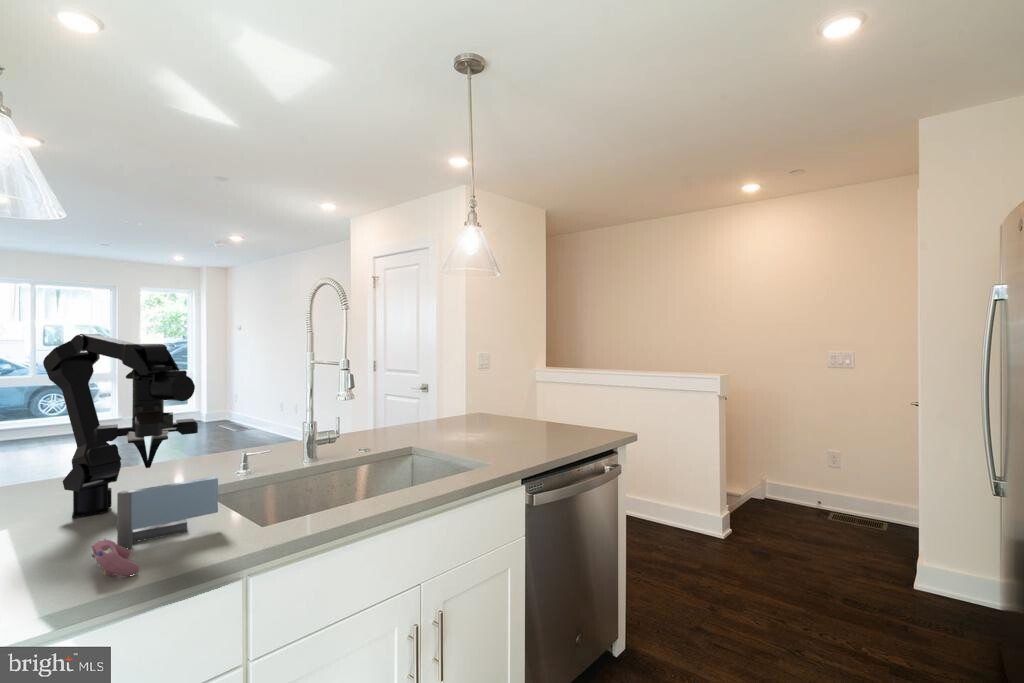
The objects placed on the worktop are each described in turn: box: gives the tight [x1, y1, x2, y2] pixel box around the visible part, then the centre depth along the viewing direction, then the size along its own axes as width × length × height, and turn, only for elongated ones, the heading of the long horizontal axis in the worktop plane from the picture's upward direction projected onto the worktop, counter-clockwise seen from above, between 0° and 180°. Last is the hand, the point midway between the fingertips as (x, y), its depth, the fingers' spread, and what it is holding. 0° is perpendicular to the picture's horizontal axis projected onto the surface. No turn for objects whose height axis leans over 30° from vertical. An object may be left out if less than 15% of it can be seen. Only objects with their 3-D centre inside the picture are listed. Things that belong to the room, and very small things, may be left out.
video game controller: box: [90, 537, 140, 577], centre depth 89 cm, size 10×5×7 cm, turn 46°
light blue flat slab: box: [116, 476, 219, 549], centre depth 104 cm, size 17×2×11 cm, turn 133°
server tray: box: [133, 519, 188, 542], centre depth 111 cm, size 11×18×2 cm, turn 37°
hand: (147, 467), depth 113 cm, fingers closed
